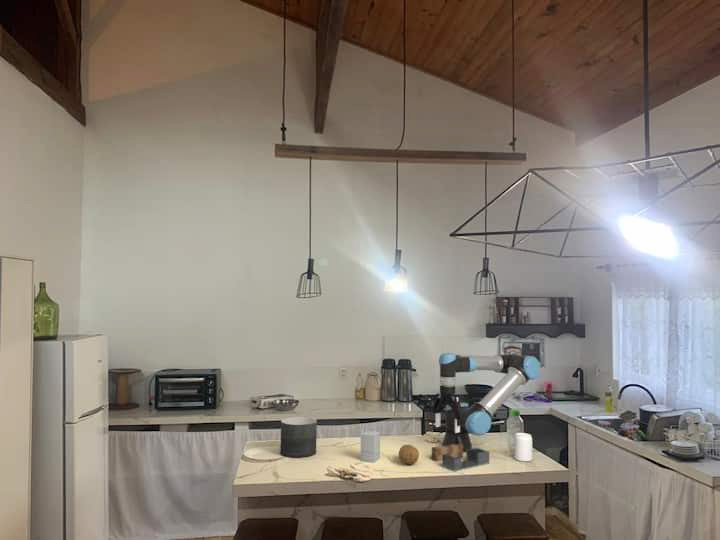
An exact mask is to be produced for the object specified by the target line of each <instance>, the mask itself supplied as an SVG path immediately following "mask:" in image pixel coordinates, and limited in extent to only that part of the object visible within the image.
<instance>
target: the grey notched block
mask: <svg viewBox="0 0 720 540" xmlns="http://www.w3.org/2000/svg"><path fill="white" fill-rule="evenodd" d="M441 462H442V463H441V464H442V466H441V467H442V468H444V469H446V470H448V471H451V472H455V473H456V472H459V471H464V470H467V469H472V468H476V467H481V466H485V465H489V464H490V450H489V451H488V450H485V449H483V448H479V447H472V449H468V450H466V452H465V460H462V458H461V457H456V458H454V457H451V454H450V453H448V454H443V455H442V461H441ZM463 469H464V470H463Z"/></svg>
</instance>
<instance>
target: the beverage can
mask: <svg viewBox="0 0 720 540" xmlns="http://www.w3.org/2000/svg"><path fill="white" fill-rule="evenodd" d="M514 459H515V460H517V461H519V462H521V461H523V462H522V463H529V462H531V461H533V437H532V434H530V433H526V432H517V433H515V435H514Z"/></svg>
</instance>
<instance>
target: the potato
mask: <svg viewBox="0 0 720 540" xmlns="http://www.w3.org/2000/svg"><path fill="white" fill-rule="evenodd" d="M419 453H420V452H419V450H418V449H417V447H415V446H413V445H411V444H404V445H402V446H401V447H400V449H399V451H398V458H399V460H400V461H401V462H402V463H405V464H406V465H413V464H415V463H416V462H418V459H419V457H420V455H419Z"/></svg>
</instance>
